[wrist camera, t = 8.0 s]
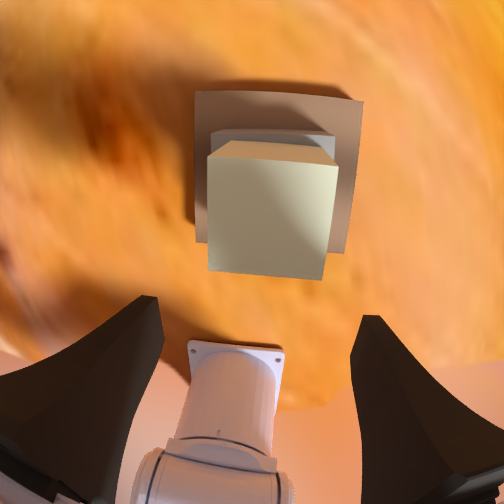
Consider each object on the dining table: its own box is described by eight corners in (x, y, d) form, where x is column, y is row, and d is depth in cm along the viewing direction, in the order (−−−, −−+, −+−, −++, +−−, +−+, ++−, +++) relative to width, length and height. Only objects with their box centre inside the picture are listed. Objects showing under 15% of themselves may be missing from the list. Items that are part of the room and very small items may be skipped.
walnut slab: (337, 237, 21) (343, 253, 18) (205, 227, 21) (195, 242, 19) (353, 102, 17) (363, 101, 14) (205, 92, 17) (194, 90, 15)
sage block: (312, 230, 15) (321, 280, 11) (229, 223, 15) (208, 270, 11) (322, 146, 13) (338, 166, 9) (231, 140, 13) (207, 156, 9)
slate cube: (320, 227, 18) (326, 249, 15) (225, 223, 18) (215, 245, 16) (326, 131, 15) (335, 136, 13) (223, 128, 16) (210, 133, 13)
